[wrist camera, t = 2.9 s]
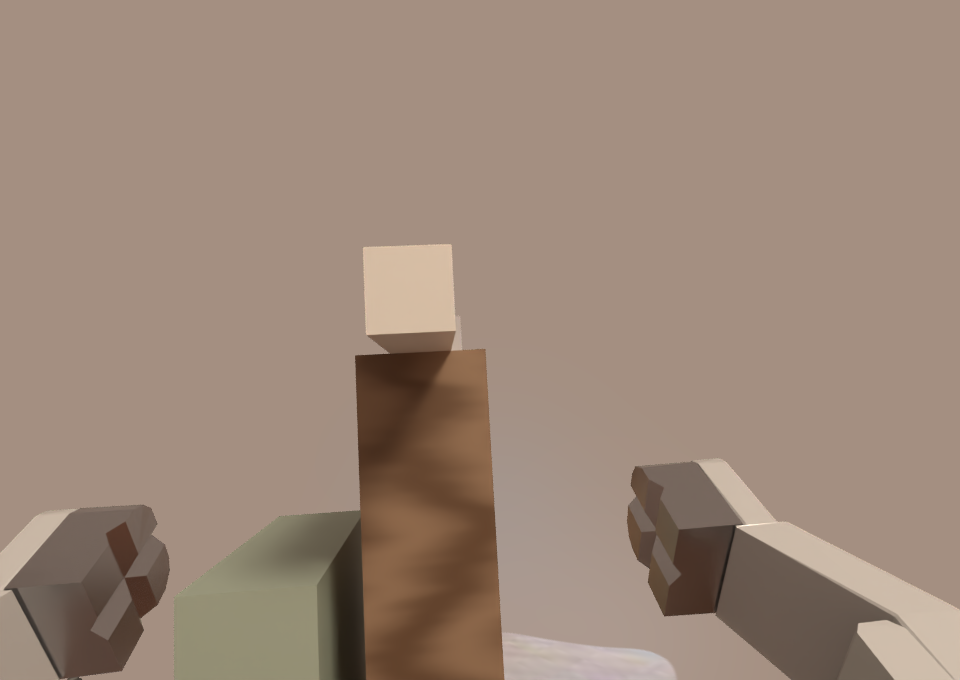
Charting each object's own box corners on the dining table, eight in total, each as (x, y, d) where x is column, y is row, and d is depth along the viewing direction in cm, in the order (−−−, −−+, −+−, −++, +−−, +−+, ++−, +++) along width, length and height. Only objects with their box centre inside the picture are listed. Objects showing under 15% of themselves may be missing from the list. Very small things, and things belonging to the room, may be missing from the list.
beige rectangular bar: (333, 336, 16) (330, 236, 17) (392, 367, 36) (390, 321, 37) (487, 329, 17) (481, 231, 17) (462, 363, 37) (459, 317, 37)
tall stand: (376, 983, 22) (355, 355, 24) (402, 744, 37) (387, 369, 39) (520, 963, 22) (485, 348, 25) (488, 735, 37) (468, 365, 40)
